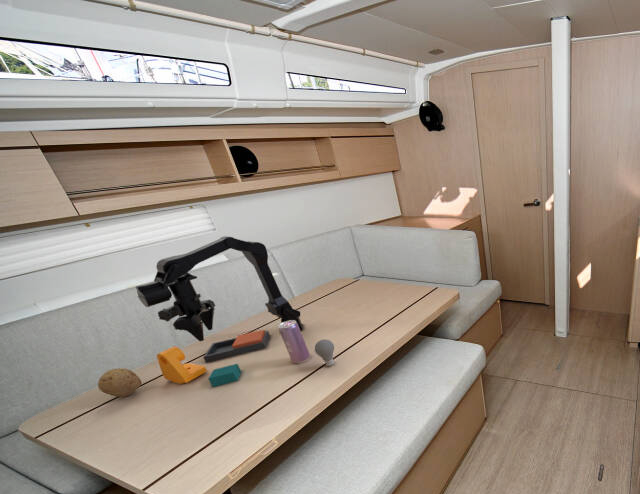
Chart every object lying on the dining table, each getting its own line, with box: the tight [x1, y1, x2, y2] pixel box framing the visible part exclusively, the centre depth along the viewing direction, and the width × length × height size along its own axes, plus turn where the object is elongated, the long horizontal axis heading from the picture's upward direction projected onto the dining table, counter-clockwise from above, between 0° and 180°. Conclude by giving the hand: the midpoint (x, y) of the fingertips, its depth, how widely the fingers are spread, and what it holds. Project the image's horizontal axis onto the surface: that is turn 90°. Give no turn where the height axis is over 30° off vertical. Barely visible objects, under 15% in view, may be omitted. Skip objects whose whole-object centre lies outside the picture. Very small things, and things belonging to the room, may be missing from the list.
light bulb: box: [314, 339, 335, 367], centre depth 122 cm, size 6×6×10 cm
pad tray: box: [203, 330, 271, 364], centre depth 140 cm, size 20×12×3 cm, turn 115°
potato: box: [97, 367, 142, 398], centre depth 115 cm, size 9×9×10 cm
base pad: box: [232, 329, 266, 349], centre depth 141 cm, size 9×9×3 cm
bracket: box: [156, 346, 208, 385], centre depth 122 cm, size 11×7×12 cm, turn 73°
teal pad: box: [208, 363, 242, 388], centre depth 120 cm, size 7×6×4 cm
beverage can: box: [277, 320, 311, 364], centre depth 126 cm, size 6×6×15 cm
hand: (206, 335), depth 125 cm, fingers open, 9 cm apart
